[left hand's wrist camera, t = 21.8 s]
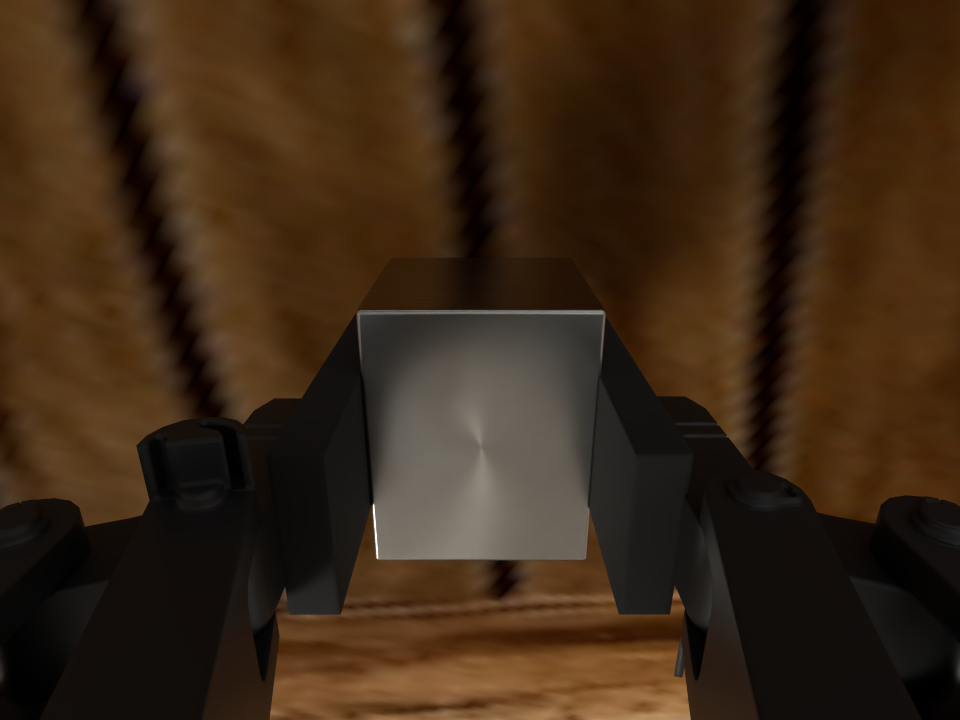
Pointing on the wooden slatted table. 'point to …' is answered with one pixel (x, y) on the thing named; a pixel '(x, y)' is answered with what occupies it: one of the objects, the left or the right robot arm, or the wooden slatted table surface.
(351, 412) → the left robot arm
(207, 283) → the wooden slatted table surface
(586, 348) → the block
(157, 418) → the wooden slatted table surface
